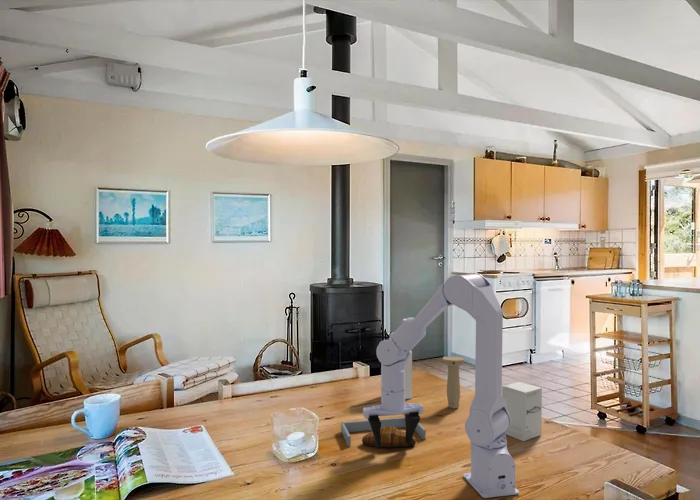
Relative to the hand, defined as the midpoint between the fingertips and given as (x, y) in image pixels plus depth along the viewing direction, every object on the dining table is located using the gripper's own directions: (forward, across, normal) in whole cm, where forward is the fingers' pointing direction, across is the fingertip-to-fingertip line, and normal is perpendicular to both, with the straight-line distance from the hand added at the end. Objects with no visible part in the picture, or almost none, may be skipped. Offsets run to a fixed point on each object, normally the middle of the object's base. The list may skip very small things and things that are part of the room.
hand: (393, 444), depth 116 cm
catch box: (+2, 0, -10) cm, 10 cm away
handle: (+2, -27, -26) cm, 38 cm away
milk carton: (+2, -13, -39) cm, 41 cm away
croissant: (+2, 0, -4) cm, 4 cm away
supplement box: (+2, -36, -3) cm, 36 cm away
